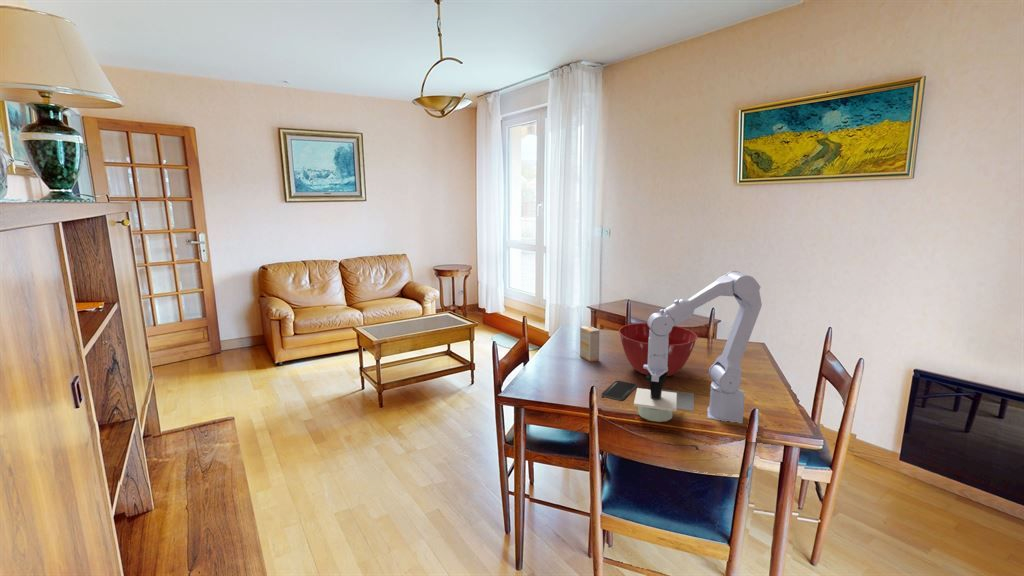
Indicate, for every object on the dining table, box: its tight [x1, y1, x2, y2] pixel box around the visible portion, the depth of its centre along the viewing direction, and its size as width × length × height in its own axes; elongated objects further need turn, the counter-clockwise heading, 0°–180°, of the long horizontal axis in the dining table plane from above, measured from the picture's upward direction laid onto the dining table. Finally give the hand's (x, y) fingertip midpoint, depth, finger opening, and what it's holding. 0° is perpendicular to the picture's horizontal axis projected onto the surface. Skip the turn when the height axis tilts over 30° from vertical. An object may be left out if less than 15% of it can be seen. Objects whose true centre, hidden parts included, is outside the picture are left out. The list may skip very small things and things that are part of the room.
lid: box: [633, 387, 677, 412], centre depth 143 cm, size 12×12×4 cm
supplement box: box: [579, 325, 601, 363], centre depth 194 cm, size 8×5×13 cm, turn 22°
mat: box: [662, 388, 695, 412], centre depth 154 cm, size 14×14×1 cm
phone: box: [601, 380, 638, 402], centre depth 161 cm, size 8×1×15 cm
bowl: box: [637, 406, 674, 423], centre depth 143 cm, size 10×10×4 cm
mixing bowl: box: [618, 322, 698, 377], centre depth 178 cm, size 28×28×16 cm
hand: (656, 395), depth 143 cm, fingers closed on lid, 3 cm apart
